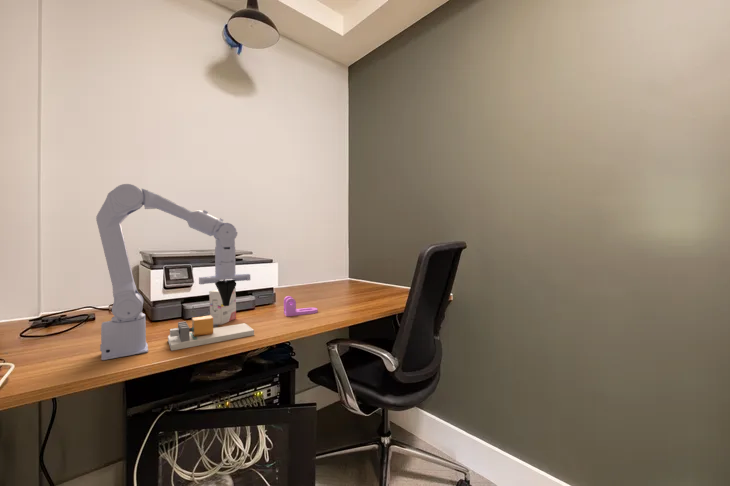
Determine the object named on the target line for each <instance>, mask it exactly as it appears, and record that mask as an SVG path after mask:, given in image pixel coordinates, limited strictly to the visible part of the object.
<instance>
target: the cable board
mask: <svg viewBox="0 0 730 486" xmlns="http://www.w3.org/2000/svg"><path fill="white" fill-rule="evenodd" d="M218 326H219V324H213V334H208V335H202V336H196V337H194V336H193V334H192V332H194V327H192V326H191V327H190V326H189V324H188V322H187V321H186V320H185V321H179V322H177V327H175V328H170V329H169V335H167V343H168V345H169V349H170V351H171V352H172V351H177V350H183V349H187V348H192V347H193V348H194V347H197V346H203V345H208V344H213V343H214V344H215V343H218V342H225V341H229V340H235V339H240V338H247V337H250V336H255V329H253V328H252V327H251V326H249V324H247V323H244V322H243V323H237V324H232V325H224V326H220V327H218Z"/></svg>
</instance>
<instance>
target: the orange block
mask: <svg viewBox="0 0 730 486" xmlns="http://www.w3.org/2000/svg"><path fill="white" fill-rule="evenodd" d="M192 327H194V332H192V331H191V332H192V334H193V336H194V337H196V336H202V335H208V334H213V317H212V316H211V315H210V314H208V315H202V316H195V317H191V328H192Z"/></svg>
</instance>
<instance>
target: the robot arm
mask: <svg viewBox="0 0 730 486" xmlns="http://www.w3.org/2000/svg"><path fill="white" fill-rule="evenodd" d="M143 206H144V209H145V210H155V209H156V210H159V211H162V212H164V213H165V214H166V213H167V214H169V215H171V216H174V217H176V218H179V219H180V220H183V221H186V223H187V225H188V228H191V229H193V230H195V231H198V232H200V233H202V234H204V235H207V236H209V237H212V236H213V238H214V239H215V248H214V265H215V266H214V268H215V270H214V272H215V274H214V275H211V276H209V275H208V276H201V277H198V284H199V285H205V284H215V287H216V288H217V289H218V291H219V293H220V295H221V298H222V303H223V306H229V302H230V298H231V295H232V292H233V290H234V288H236V286H237V282H241V281H242V282H243V281H244V282H245V281H251V274H250V273H243V274H241V273H237V274H236V242H235V241H236V240H235V239H236V238H237V236H238V231H237V228H236V227H235V225H233V224H232V223H229V222H224V219H223V218H222V217H220V218H217V217H216V216H213V215H211V214H209V211H207V210H205V209H203V210H200V209H197V210H193V211H192V210H190V209H188V208H186V207H184V206H181V205H180V204H178V203H175V202H173V201H172V200H170V199H168V198H165V197H163V196H161V194H158V193H155V192H152V191H150V190H148V189H145V188H141V189H140V188H139V187H138V186H136V185H134V184H131V183H122V184H120V185H118V186H116V187H114V188H113V189H112V190H111V191H109V192H108V193H107V195H106V198H105V200H104V202H103V204H102V205H101V207H100V209H99V211H98V213H97V215H96V218H95V219H96V224H97V228H98V232H99V236H100V240H101V245H102V248H103V252H104V257H105V261H106V265H107V270H108V273H109V279H110V282H111V287H112V294H113V295H112V296H113V304H112V306H111V313H112V315H113V316H112V317H111V320H108V321H102V322H101V325H100V327H101V328H100V332H101V333H100V340H101V341H100V342H101V344H100V345H99V346H100V347H99V350H100V352H101V359H100V360H101V361H106V360H111V359H116V358H118V359H119V358H122V357H127V356H134V355H138V354H139V355H140V354H145V353H148V352H149V345H148V342H147V335H146V333H147V330H146V328H147V327H146V326H147V325H146V322H147V321H146V314H145V313H143V308H144V307H143V306H144V302H145V301H144V297H143V295H142V294H141V293H140V292H139V291H138V289H137V285H136V283H135V279H134V275H133V271H132V265H131V262H130V258H129V254H128V250H127V245H126V241H125V237H124V233H123V229H122V222H124V221H125V220H126V218H128V216H129V215H131V214H132V213H134V212H136V211H138V210H140V209H142V207H143ZM217 289H216V290H217Z"/></svg>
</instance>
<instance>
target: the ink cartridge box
mask: <svg viewBox="0 0 730 486" xmlns="http://www.w3.org/2000/svg"><path fill="white" fill-rule="evenodd" d="M208 292H209V293H208V294H209V295H208V297H209V315H211V316H212V317H213V324H218V325H224V324H226V323H228V322H231V321H233V320H236V319H237V301H236V299H237V298H236V297H237V295H236V292H237V291H236V287H235V288H234V290H233V292H232V295H231V298H230V302H229V306H223V303H222V298H221V295H220V293H219V291H218V289H214V290H213V289H212V290H210V291H208Z"/></svg>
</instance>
